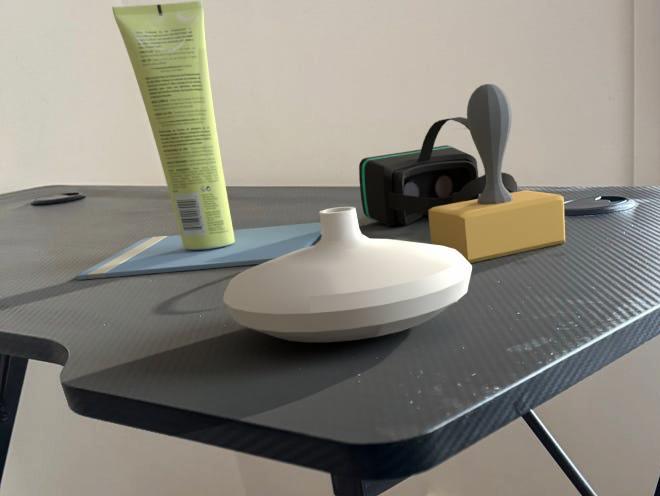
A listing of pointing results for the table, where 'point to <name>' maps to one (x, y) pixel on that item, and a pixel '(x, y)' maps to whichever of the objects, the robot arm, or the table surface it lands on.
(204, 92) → the tube
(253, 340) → the table surface
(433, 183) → the virtual reality headset
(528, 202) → the rubber stamp
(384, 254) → the vase
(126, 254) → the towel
